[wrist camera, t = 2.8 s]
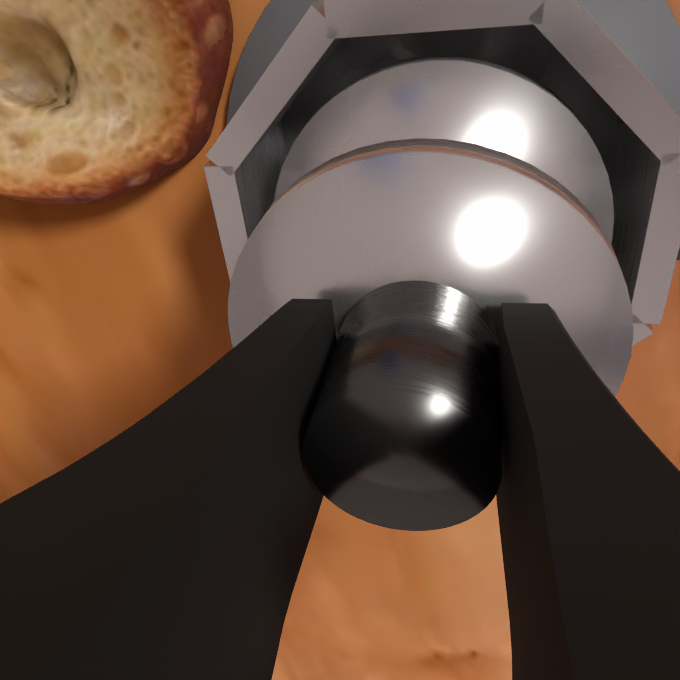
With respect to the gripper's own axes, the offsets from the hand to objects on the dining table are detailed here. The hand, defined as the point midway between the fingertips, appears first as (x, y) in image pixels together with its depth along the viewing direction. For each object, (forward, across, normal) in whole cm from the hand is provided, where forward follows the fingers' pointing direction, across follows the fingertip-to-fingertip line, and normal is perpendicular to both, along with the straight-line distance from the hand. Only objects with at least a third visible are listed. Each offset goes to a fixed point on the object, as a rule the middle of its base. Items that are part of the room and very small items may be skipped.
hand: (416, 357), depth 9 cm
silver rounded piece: (+4, 0, 0) cm, 4 cm away
